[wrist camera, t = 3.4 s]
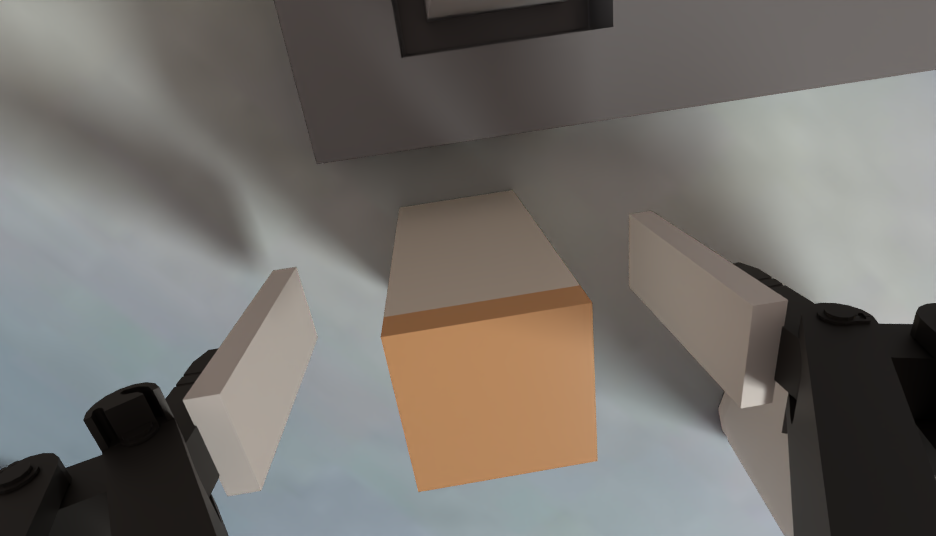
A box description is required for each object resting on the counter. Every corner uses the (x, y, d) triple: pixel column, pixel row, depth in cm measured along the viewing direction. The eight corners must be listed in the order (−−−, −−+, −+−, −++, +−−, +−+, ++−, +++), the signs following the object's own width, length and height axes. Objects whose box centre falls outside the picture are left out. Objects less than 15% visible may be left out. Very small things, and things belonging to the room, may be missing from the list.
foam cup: (788, 275, 20) (1310, 582, 8) (919, 361, 23) (1462, 690, 11) (647, 434, 23) (888, 832, 11) (778, 495, 26) (1087, 871, 14)
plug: (419, 307, 19) (418, 491, 11) (399, 207, 18) (381, 336, 9) (522, 291, 19) (597, 460, 11) (512, 189, 18) (591, 302, 10)
